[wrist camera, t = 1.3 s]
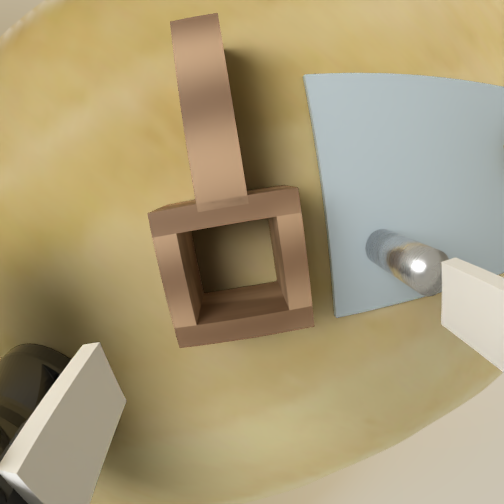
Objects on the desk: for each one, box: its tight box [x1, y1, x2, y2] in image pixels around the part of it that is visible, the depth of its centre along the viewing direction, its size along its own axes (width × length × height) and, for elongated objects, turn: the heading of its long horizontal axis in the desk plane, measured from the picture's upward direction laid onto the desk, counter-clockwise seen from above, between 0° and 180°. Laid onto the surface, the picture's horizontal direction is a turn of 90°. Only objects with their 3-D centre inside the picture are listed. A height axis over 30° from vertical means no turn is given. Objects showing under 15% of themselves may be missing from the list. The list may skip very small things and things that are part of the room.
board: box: [303, 73, 504, 318], centre depth 25 cm, size 26×20×1 cm
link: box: [148, 13, 314, 348], centre depth 21 cm, size 21×9×6 cm, turn 9°
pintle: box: [365, 229, 449, 296], centre depth 22 cm, size 3×3×8 cm
